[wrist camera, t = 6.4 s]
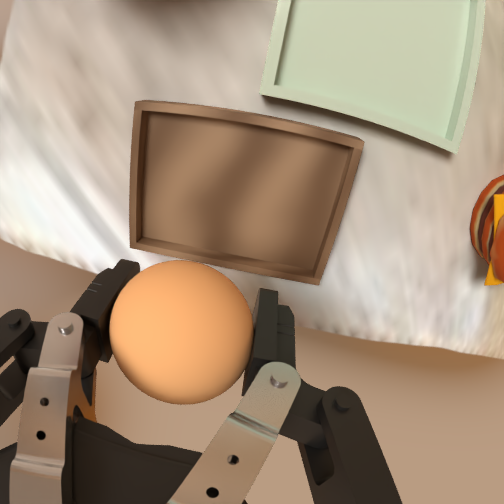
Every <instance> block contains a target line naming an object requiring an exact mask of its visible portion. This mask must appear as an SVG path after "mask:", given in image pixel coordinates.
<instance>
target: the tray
mask: <svg viewBox="0 0 504 504" xmlns="http://www.w3.org/2000/svg"><path fill="white" fill-rule="evenodd" d="M363 146H364V141H363V140H361V139H360V138H358V137H355V136H351V135H348V134H344V133H340V132H337V131H333V130H329V129H325V128H321V127H317V126H313V125H309V124H305V123H301V122H296V121H292V120H287V119H282V118H277V117H272V116H267V115H262V114H257V113H251V112H245V111H239V110H233V109H226V108H219V107H212V106H204V105H196V104H187V103H177V102H166V101H152V100H142V101H136V102H135V107H134V118H133V130H132V144H131V162H130V195H129V227H130V248H133V249H138V250H143V251H147V252H152V253H157V254H162V255H166V256H171V257H176V258H181V259H186V260H191V261H195V262H200V263H205V264H210V265H215V266H220V267H225V268H230V269H235V270H240V271H246V272H251V273H256V274H261V275H266V276H271V277H277V278H282V279H287V280H293V281H298V282H303V283H309V284H314V285H319V283H320V280H321V278H322V275H323V272H324V269H325V266H326V264H327V261H328V258H329V255H330V252H331V249H332V246H333V243H334V240H335V237H336V234H337V231H338V228H339V225H340V222H341V219H342V216H343V213H344V210H345V207H346V204H347V200H348V197H349V194H350V191H351V187H352V184H353V181H354V177H355V174H356V171H357V167H358V164H359V160H360V157H361V153H362V149H363Z"/></svg>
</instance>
